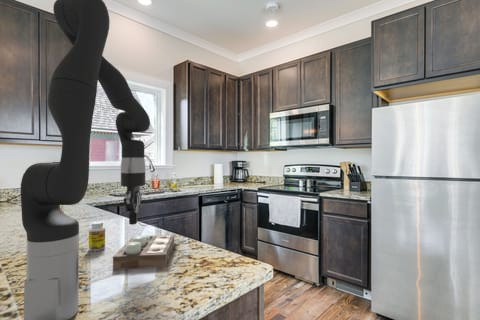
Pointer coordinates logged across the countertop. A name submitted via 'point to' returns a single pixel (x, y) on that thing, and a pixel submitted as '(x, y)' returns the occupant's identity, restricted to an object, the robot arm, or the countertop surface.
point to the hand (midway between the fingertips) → (133, 223)
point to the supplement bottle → (96, 236)
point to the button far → (147, 237)
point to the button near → (133, 248)
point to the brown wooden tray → (146, 254)
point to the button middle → (140, 240)
